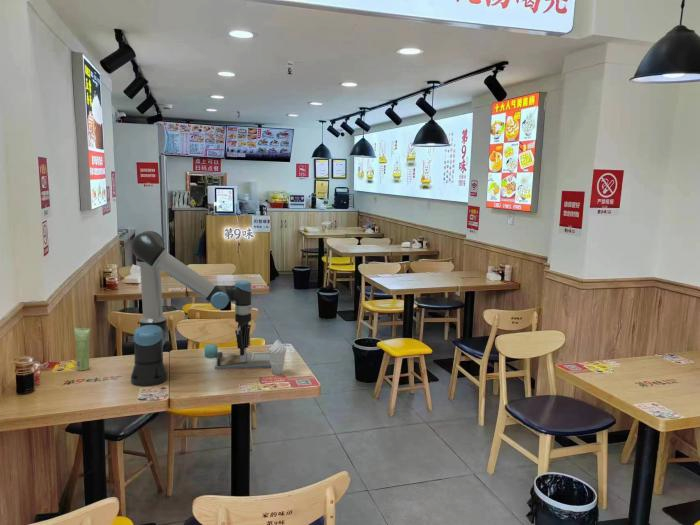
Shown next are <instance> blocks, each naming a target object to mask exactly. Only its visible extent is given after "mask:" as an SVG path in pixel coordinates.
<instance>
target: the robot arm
mask: <svg viewBox="0 0 700 525" xmlns="http://www.w3.org/2000/svg"><path fill="white" fill-rule="evenodd" d="M130 248H131V252H132V253H133V255H134V256H135V260H136V261H135V262H136V263H137V264H138V265H139V269H140V271H139V272H140V283H141V285H140V287H141V302H142V306H141V307H142V317H141V318H140V319H139V327H137V328H136V329H135V330H134V331H133V332H134V333H133V346H134V347H133V350H134V354H133V355H134V366H133V368H132V372H131V374H130V383H131V385H135V386H138V387H139V386H141V387H149V386H155V385H159V384H163V383H164V382H166V381H167V380H168V371H167V368H166V365H165V364H164V353H163V352H164V350H163V349H164V348H163V347H164V345H165V343H166V342H167V340H168V337H169V335H170V334H169V333H170V332H169V331H170V330H169V327H168V324H167V323H168V322H167V317H166V316H165V315H164V314H163V313H164V311H163V308H164V307H163V295H162V293H163V292H162V291H163V290H162V273H161V272H162V271H163V273H165V274H167V275H168V276H170V277H171V278H173V279H174V280H176V281H177V282H179V283H181V284H182V285H183V286H185V287H186V288H188V289H189V290H190V291H192V292H194V293H195V294H197V295H198V296H200V297H201V298H203V299H204V300H206V301H207V302H209V303H210V304H211V306H212V307H213V308H214V309H217V310H222V309H224V308H226V307H227V305H228V304H229V302H235V303H234V313H235V314H234V318H235V319H234V321H235V322H236V323H238V324H237V330H236V329H235V331H234V333H235V337H236V344H237V349H239V353H240V361H241V362H246V353H247V348H249V342H250V336H251V335H250V334H251V327H252V324H249V323H251V322H252V314H251V312H252V309H253V307H252V282H251V281H249V280H236V281H235V282H234V284H233V285H216V284H214V283H213V282H211V281H209V280H208V279H207V278H205V277H204V276H202V275H201V274H199V273H198V272H197V271H195V270H193V269H192V268H191V267H189V266H188V265H186V264H185V263H183V262H182V261H180V260H179V259H177V258H176V257H174V256H173V255H172V254H170V253H169V252H168V251H167V250H168V249H167V248H166V247H165V240H164V237H163V236H162V235H161V233H159V232H157V231H154V230H145V231H143V232H141V233H139V234H137V235H135V236H134V237H133V239H132V240H131V244H130Z"/></svg>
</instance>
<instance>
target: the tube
mask: <svg viewBox="0 0 700 525" xmlns="http://www.w3.org/2000/svg"><path fill="white" fill-rule="evenodd" d="M73 329H74V330H73V331H74V338H75V340H74V341H75V350H76V352H75V353H76V369H77V371H87V370H89V369H90V336H91V328H86V327H85V328H82V327H74V328H73Z"/></svg>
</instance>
